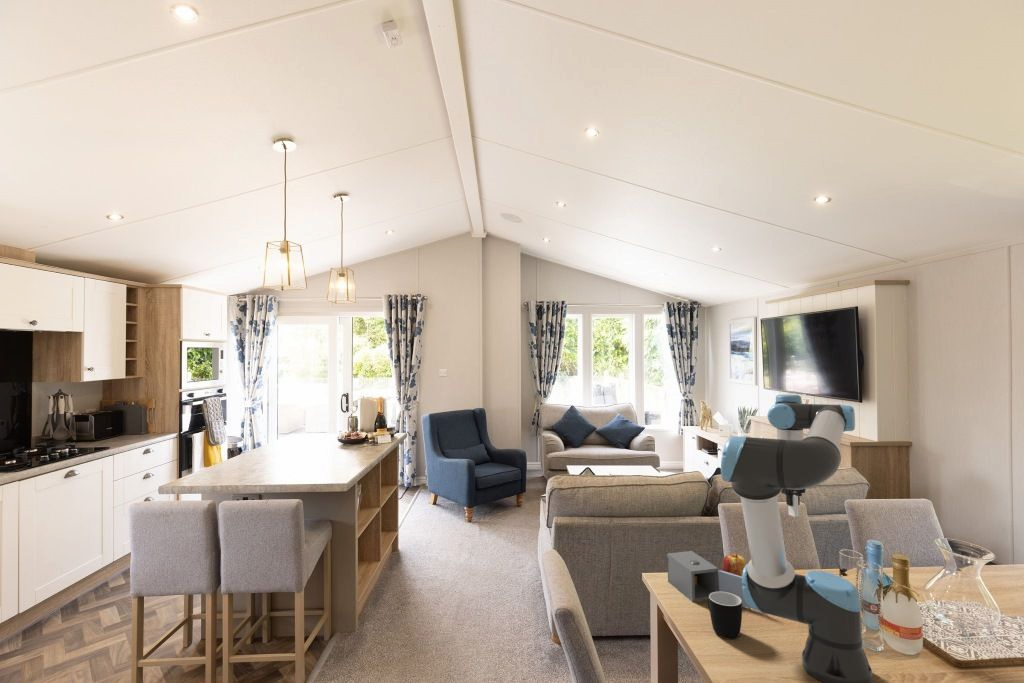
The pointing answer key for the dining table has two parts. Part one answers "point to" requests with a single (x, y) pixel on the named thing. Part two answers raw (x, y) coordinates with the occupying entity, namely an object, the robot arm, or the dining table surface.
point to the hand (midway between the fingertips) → (793, 515)
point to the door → (731, 585)
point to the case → (692, 575)
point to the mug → (725, 614)
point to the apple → (734, 564)
